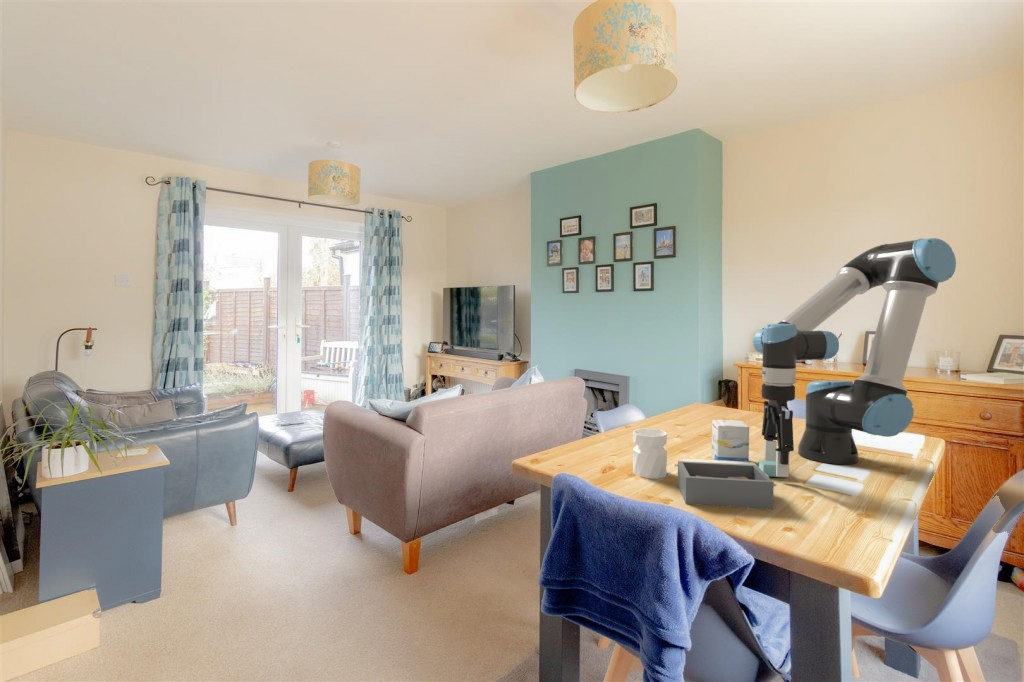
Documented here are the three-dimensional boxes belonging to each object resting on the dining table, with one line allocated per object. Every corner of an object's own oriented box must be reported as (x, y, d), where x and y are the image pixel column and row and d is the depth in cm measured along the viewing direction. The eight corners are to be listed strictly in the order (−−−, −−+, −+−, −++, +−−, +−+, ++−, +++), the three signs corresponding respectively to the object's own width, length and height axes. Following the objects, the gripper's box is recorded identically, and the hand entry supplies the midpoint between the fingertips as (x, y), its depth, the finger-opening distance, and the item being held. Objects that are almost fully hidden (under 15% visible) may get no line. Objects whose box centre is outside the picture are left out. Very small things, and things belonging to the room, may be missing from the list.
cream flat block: (775, 470, 131) (775, 456, 131) (793, 487, 119) (794, 471, 118) (682, 466, 135) (682, 452, 135) (690, 481, 123) (690, 466, 123)
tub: (755, 493, 116) (756, 464, 115) (772, 514, 104) (773, 482, 104) (677, 488, 119) (677, 461, 119) (685, 508, 107) (686, 477, 107)
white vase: (657, 470, 133) (657, 427, 133) (672, 481, 125) (673, 435, 124) (627, 472, 132) (627, 429, 131) (641, 483, 123) (641, 437, 122)
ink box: (749, 467, 135) (750, 426, 135) (716, 465, 137) (717, 425, 136) (741, 458, 144) (741, 420, 143) (710, 456, 145) (711, 418, 145)
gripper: (750, 378, 135) (748, 457, 136) (776, 390, 114) (774, 483, 115) (779, 378, 133) (777, 458, 135) (811, 390, 113) (808, 485, 114)
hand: (776, 470), depth 125 cm, fingers open, 8 cm apart
